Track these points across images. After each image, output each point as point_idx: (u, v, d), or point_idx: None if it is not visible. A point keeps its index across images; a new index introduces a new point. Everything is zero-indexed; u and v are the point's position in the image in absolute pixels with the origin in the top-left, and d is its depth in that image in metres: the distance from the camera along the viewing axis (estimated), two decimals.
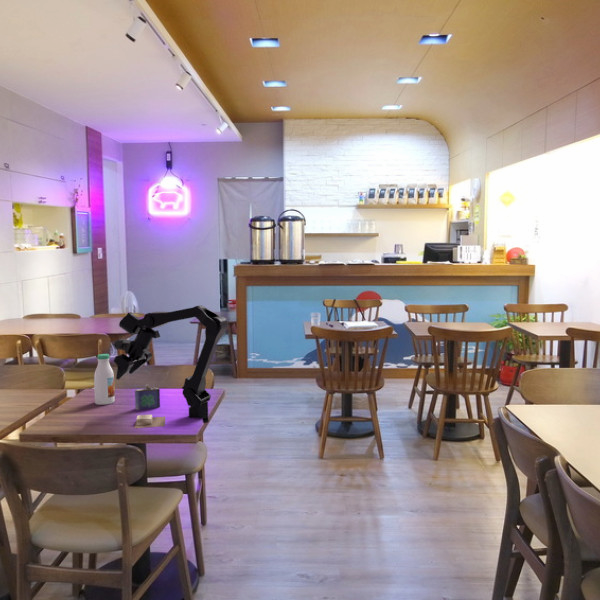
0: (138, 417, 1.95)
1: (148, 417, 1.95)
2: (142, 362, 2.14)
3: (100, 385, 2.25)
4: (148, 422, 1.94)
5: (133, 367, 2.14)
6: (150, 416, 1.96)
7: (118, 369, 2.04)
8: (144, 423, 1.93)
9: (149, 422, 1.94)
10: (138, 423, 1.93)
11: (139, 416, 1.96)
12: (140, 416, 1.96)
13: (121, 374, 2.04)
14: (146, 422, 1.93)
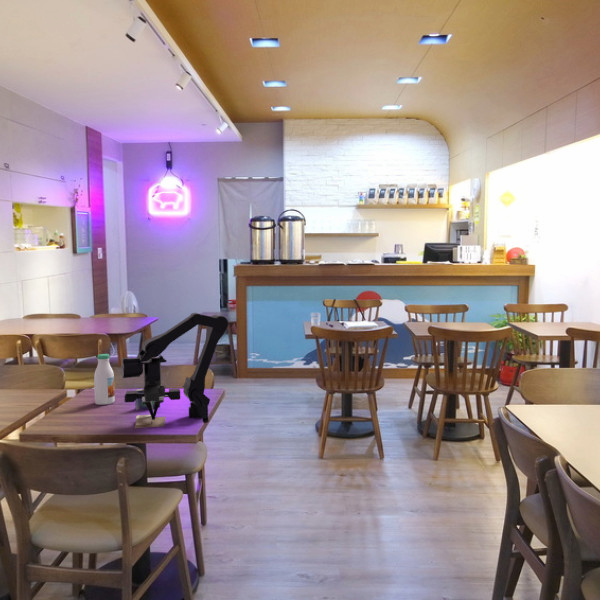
0: (137, 417, 1.95)
1: (148, 417, 1.95)
2: None
3: (100, 385, 2.25)
4: (147, 422, 1.94)
5: (152, 411, 1.96)
6: (149, 416, 1.96)
7: None
8: (143, 423, 1.93)
9: (148, 422, 1.94)
10: (137, 423, 1.93)
11: (138, 416, 1.96)
12: (139, 416, 1.96)
13: None
14: (145, 422, 1.93)
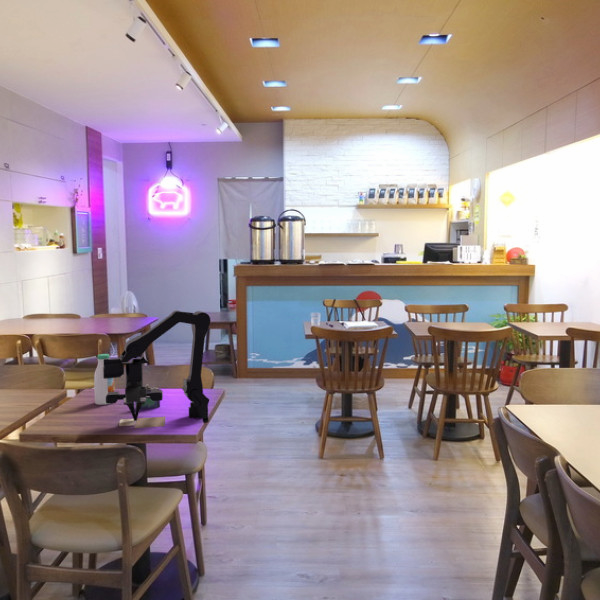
0: (121, 421, 1.94)
1: (131, 421, 1.94)
2: None
3: (100, 385, 2.25)
4: None
5: (134, 412, 1.95)
6: (133, 420, 1.95)
7: None
8: None
9: None
10: None
11: (122, 420, 1.95)
12: (123, 420, 1.95)
13: None
14: None
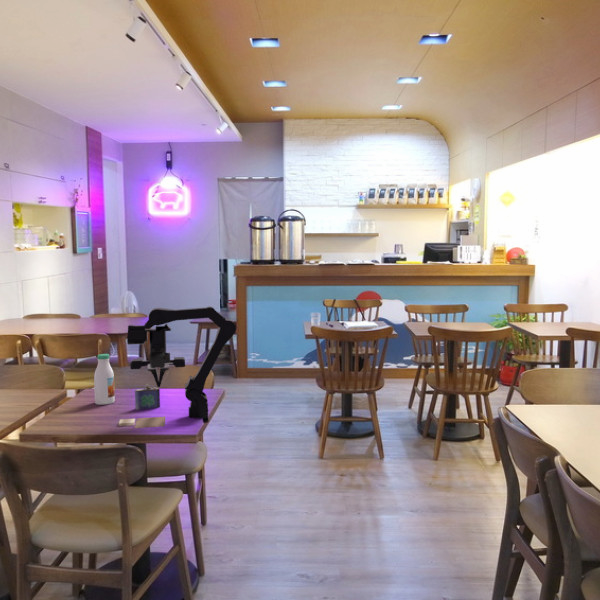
0: (120, 421, 1.94)
1: (131, 421, 1.94)
2: (156, 368, 2.01)
3: (100, 385, 2.25)
4: None
5: None
6: (133, 420, 1.95)
7: None
8: None
9: None
10: None
11: (122, 420, 1.95)
12: (122, 420, 1.95)
13: None
14: None
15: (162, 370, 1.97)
